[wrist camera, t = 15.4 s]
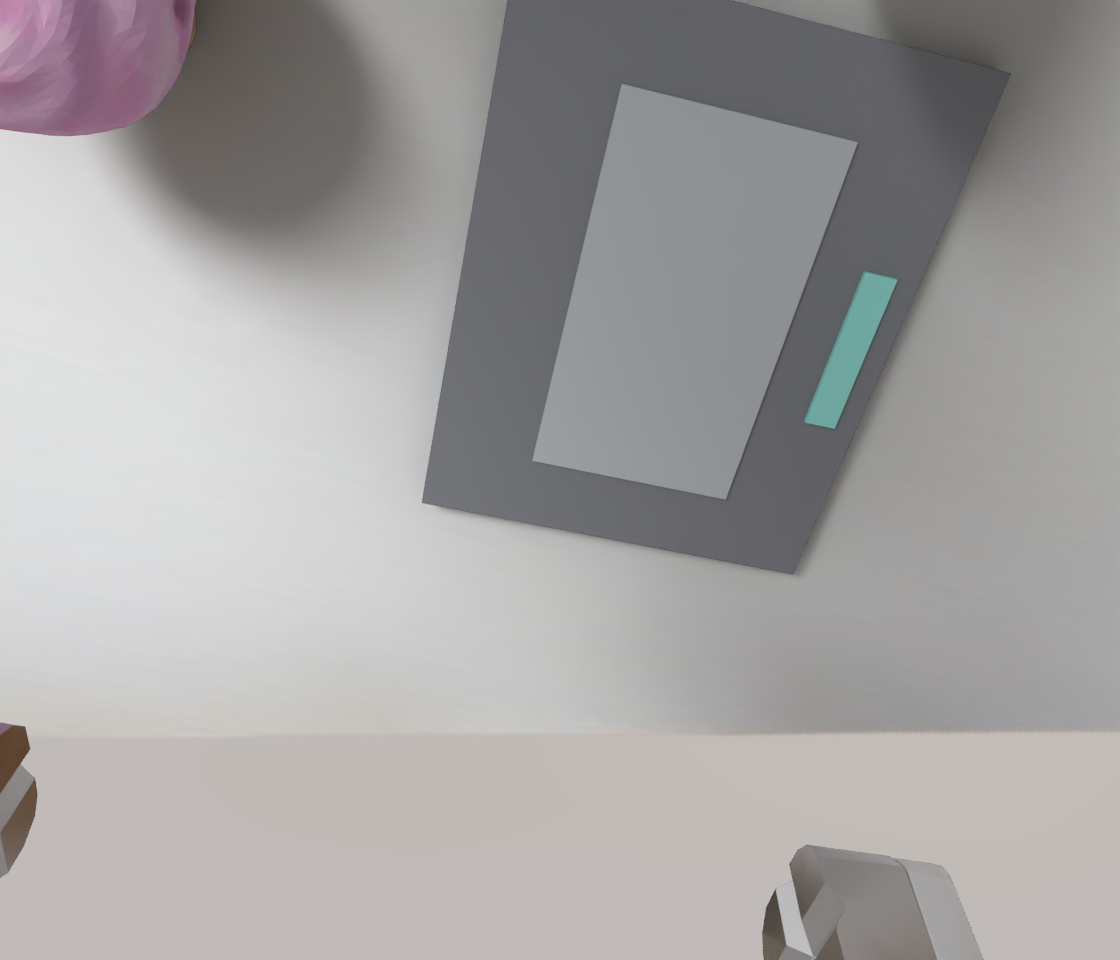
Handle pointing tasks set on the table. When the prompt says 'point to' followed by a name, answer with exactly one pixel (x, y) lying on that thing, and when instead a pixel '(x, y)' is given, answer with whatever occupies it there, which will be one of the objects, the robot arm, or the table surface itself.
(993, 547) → the table surface
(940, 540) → the table surface
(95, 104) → the cupcake
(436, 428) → the charging mat
